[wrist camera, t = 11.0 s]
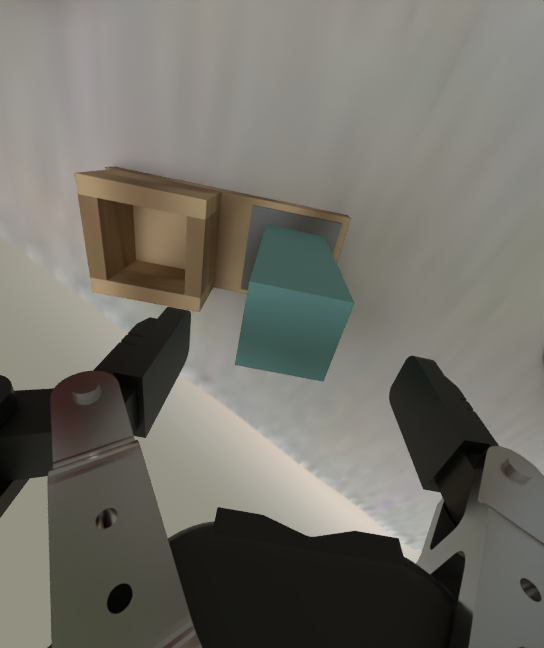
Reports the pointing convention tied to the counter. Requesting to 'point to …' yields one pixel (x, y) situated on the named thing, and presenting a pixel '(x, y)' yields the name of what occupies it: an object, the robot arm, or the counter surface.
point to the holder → (181, 235)
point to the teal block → (293, 306)
